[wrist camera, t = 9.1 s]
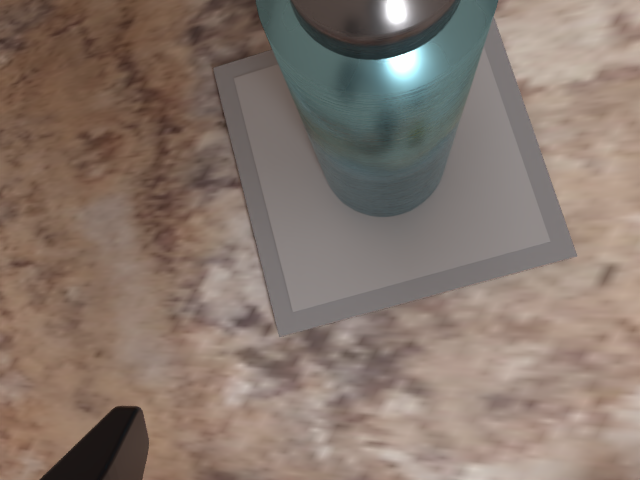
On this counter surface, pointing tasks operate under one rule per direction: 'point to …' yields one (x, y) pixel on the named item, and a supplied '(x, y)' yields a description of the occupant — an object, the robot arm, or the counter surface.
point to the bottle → (379, 89)
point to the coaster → (394, 231)
